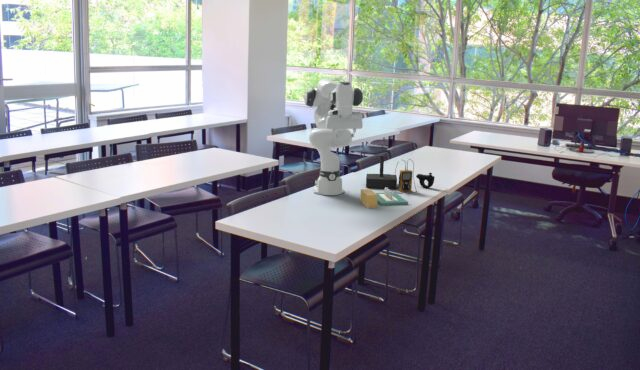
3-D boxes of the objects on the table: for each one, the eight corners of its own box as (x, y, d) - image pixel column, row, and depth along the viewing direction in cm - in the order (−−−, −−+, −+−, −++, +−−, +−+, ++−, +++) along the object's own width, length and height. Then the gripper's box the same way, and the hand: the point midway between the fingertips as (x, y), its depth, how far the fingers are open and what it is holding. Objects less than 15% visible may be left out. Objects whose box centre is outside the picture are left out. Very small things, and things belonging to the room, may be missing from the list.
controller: (431, 189, 358) (432, 174, 355) (414, 186, 366) (415, 171, 363) (435, 188, 361) (436, 173, 358) (418, 185, 369) (419, 170, 366)
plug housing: (360, 201, 329) (360, 189, 327) (369, 200, 330) (370, 189, 328) (367, 207, 316) (367, 195, 314) (377, 207, 317) (377, 195, 315)
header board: (369, 195, 341) (369, 185, 340) (394, 194, 345) (395, 184, 343) (380, 205, 320) (381, 194, 319) (407, 204, 324) (408, 193, 322)
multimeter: (398, 195, 343) (400, 162, 338) (393, 191, 353) (394, 159, 348) (421, 194, 346) (423, 162, 341) (415, 190, 356) (417, 158, 351)
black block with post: (395, 183, 373) (397, 153, 369) (396, 189, 357) (398, 158, 352) (366, 182, 375) (367, 152, 370) (365, 188, 359) (367, 157, 354)
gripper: (361, 111, 317) (360, 136, 319) (324, 111, 313) (324, 137, 315) (364, 111, 311) (364, 137, 313) (327, 111, 307) (327, 137, 309)
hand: (344, 137), depth 314 cm, fingers open, 8 cm apart
